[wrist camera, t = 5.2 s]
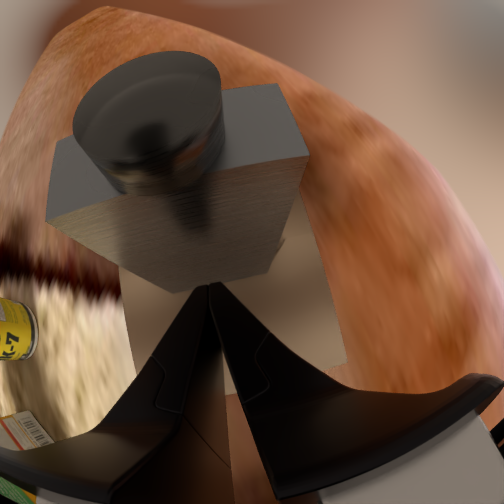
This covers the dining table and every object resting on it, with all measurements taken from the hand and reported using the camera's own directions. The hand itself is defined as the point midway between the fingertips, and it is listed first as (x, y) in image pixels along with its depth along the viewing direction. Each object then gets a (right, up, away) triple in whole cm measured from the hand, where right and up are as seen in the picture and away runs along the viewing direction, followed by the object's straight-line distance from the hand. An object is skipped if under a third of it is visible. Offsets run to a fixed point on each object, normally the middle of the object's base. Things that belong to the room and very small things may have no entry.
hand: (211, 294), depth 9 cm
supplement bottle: (-17, -5, +7) cm, 19 cm away
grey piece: (-1, +1, +5) cm, 5 cm away
